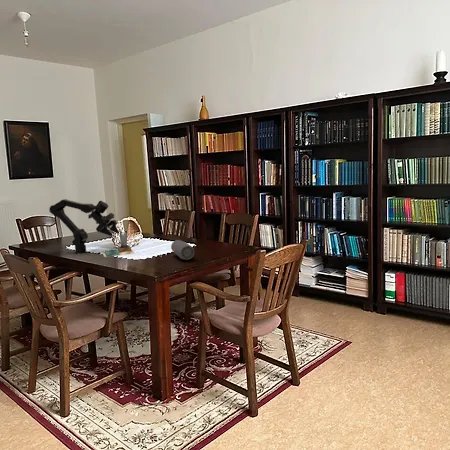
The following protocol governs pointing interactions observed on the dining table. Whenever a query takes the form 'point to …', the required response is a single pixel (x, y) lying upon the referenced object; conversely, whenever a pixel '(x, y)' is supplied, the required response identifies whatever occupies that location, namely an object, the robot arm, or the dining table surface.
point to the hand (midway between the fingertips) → (115, 234)
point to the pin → (123, 240)
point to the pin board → (118, 252)
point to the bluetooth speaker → (182, 250)
